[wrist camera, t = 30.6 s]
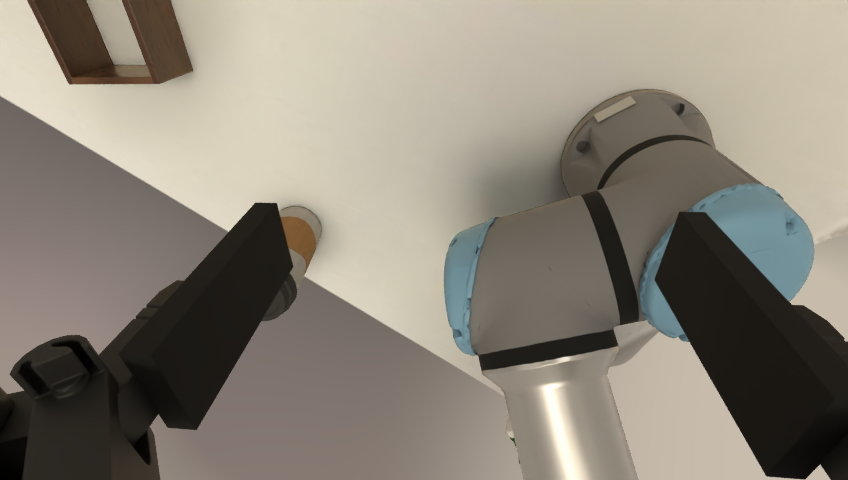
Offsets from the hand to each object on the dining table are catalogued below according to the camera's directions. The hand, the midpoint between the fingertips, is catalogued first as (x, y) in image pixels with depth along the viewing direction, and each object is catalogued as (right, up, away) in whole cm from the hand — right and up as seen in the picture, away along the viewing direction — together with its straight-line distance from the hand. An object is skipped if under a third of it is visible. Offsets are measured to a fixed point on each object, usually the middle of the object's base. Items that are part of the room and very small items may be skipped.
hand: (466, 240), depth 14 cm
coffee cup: (-19, +2, +43) cm, 47 cm away
